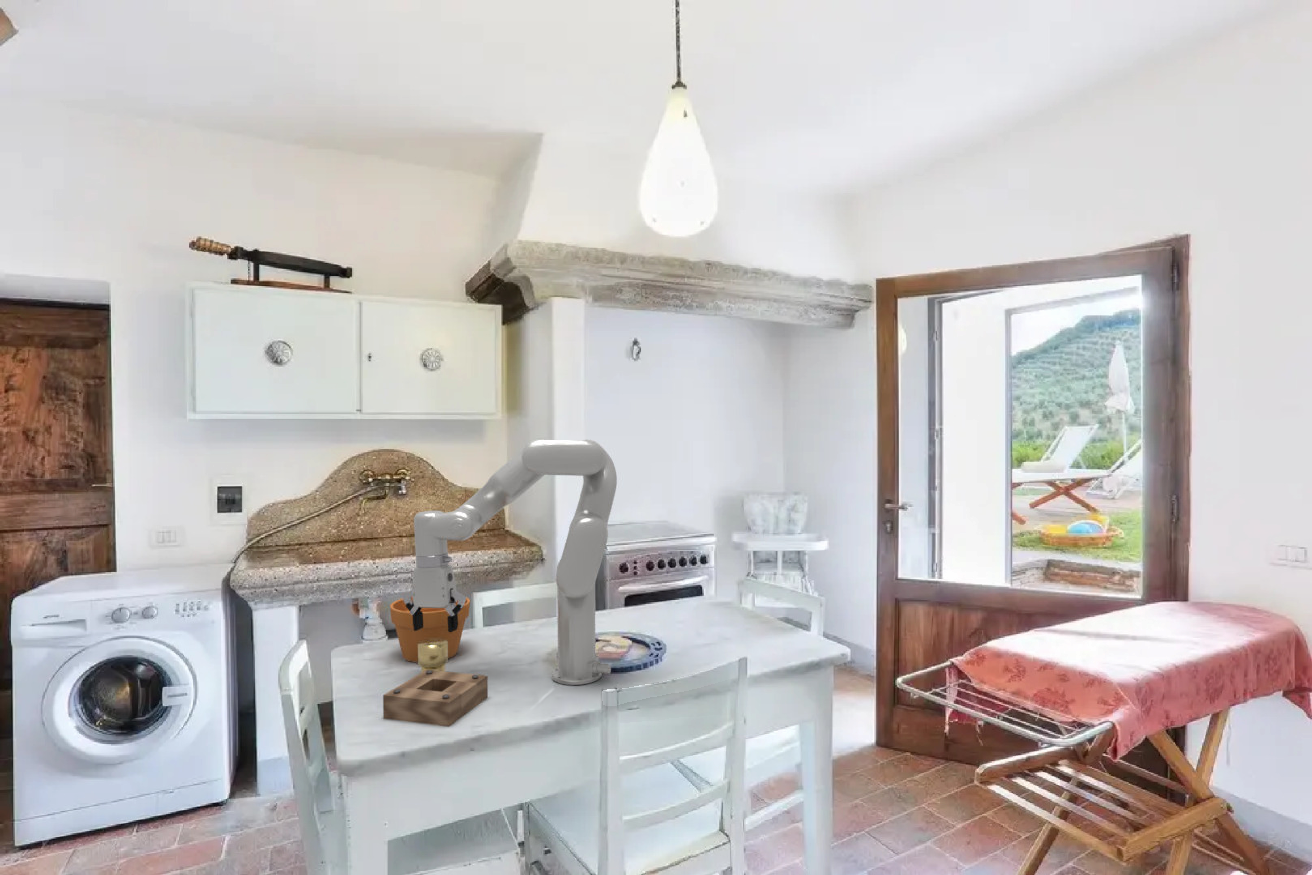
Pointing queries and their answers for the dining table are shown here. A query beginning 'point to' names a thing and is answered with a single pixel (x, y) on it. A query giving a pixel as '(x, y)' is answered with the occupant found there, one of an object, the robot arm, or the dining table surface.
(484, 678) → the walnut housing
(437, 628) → the flower pot
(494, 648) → the dining table surface
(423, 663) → the yellow translucent cylinder
